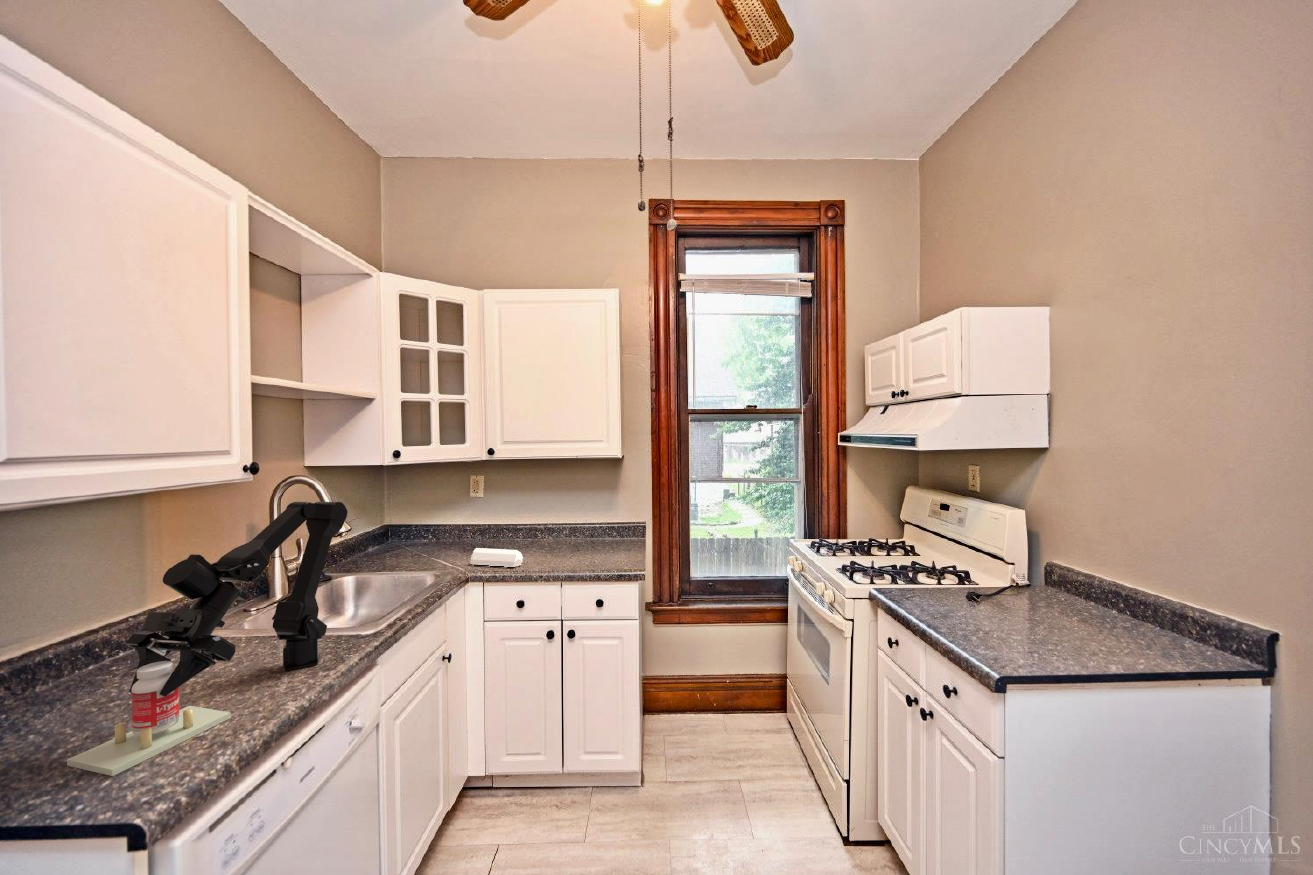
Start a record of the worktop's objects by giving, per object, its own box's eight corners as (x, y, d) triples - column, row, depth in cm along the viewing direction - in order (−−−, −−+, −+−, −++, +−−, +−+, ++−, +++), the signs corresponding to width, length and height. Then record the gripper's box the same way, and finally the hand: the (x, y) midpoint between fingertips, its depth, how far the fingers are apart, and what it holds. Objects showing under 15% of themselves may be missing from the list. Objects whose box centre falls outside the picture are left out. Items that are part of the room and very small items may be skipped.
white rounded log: (463, 558, 219) (514, 561, 212) (472, 546, 225) (522, 548, 218) (469, 571, 222) (519, 574, 216) (478, 559, 228) (527, 562, 222)
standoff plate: (189, 710, 104) (189, 690, 104) (230, 717, 101) (230, 696, 101) (67, 765, 87) (66, 741, 87) (112, 776, 84) (112, 751, 84)
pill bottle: (159, 736, 91) (158, 673, 91) (121, 738, 91) (120, 674, 91) (188, 716, 97) (187, 657, 97) (153, 718, 97) (152, 659, 97)
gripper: (135, 589, 99) (62, 673, 89) (219, 592, 96) (154, 680, 85) (180, 615, 107) (118, 696, 96) (259, 619, 104) (204, 703, 93)
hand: (147, 694), depth 93 cm, fingers closed on pill bottle, 6 cm apart
